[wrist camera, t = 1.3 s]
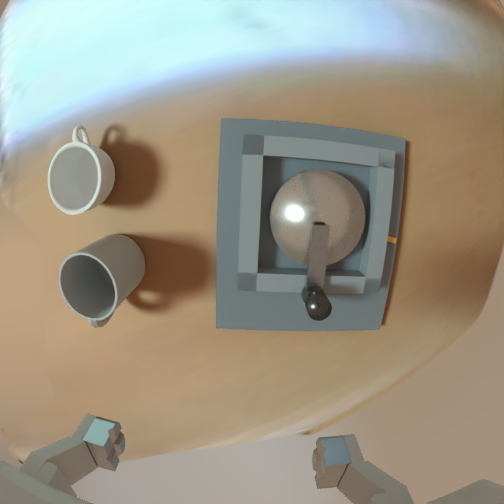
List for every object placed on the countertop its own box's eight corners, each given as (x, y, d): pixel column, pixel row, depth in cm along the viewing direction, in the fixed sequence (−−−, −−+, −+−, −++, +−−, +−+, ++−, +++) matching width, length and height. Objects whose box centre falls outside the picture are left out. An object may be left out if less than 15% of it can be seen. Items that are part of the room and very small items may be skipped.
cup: (150, 240, 34) (120, 262, 25) (142, 313, 36) (116, 350, 28) (98, 227, 33) (58, 244, 25) (94, 299, 36) (61, 330, 27)
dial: (271, 166, 30) (276, 164, 24) (362, 174, 30) (385, 175, 24) (264, 294, 34) (266, 319, 28) (348, 296, 34) (365, 320, 28)
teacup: (126, 204, 33) (106, 210, 27) (75, 211, 33) (51, 218, 27) (120, 121, 30) (99, 114, 25) (69, 135, 30) (44, 132, 25)
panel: (222, 120, 30) (219, 114, 27) (400, 139, 30) (414, 137, 27) (217, 323, 36) (214, 337, 33) (376, 325, 37) (386, 337, 33)
